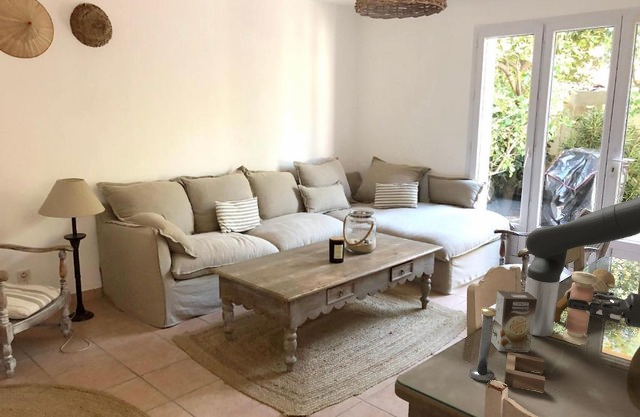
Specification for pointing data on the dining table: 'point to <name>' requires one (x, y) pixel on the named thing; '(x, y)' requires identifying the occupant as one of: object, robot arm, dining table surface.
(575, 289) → the thread spool
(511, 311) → the coffee box
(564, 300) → the decorative spool
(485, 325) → the post
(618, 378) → the dining table surface
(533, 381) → the notched board
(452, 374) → the dining table surface
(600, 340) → the dining table surface
